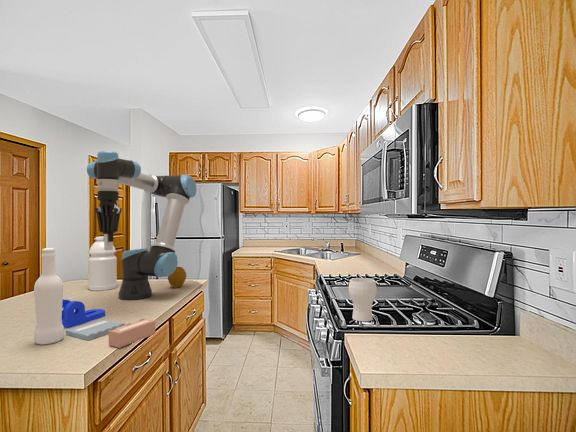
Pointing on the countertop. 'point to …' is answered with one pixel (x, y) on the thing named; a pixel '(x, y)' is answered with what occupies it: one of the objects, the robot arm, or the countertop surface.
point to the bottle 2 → (101, 267)
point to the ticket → (93, 329)
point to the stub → (131, 332)
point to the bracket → (78, 313)
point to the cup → (362, 297)
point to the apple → (177, 277)
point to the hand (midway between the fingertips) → (108, 250)
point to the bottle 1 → (48, 302)
